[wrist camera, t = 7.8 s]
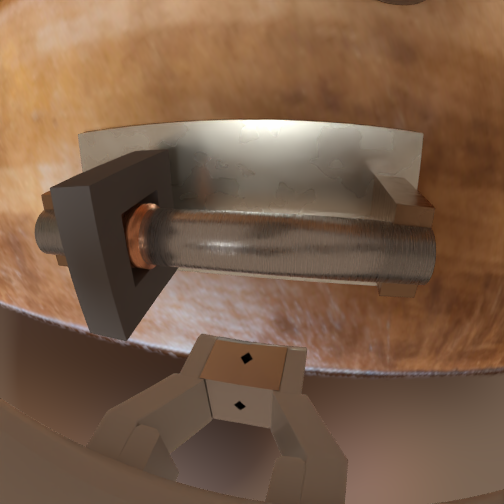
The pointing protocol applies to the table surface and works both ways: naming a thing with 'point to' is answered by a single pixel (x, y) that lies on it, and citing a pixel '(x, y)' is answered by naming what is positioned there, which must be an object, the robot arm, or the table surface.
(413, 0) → the thermos bottle
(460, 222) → the table surface
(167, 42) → the table surface
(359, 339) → the table surface
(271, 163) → the rail
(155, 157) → the collar
